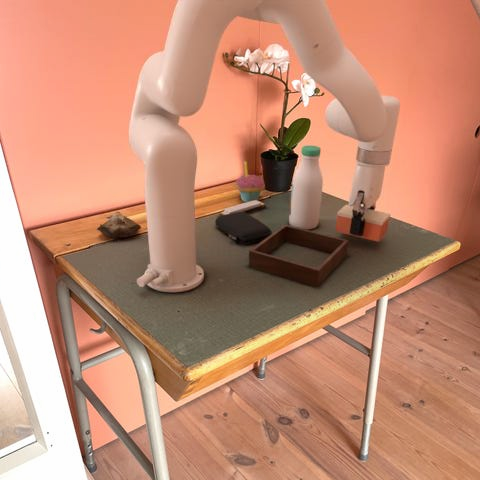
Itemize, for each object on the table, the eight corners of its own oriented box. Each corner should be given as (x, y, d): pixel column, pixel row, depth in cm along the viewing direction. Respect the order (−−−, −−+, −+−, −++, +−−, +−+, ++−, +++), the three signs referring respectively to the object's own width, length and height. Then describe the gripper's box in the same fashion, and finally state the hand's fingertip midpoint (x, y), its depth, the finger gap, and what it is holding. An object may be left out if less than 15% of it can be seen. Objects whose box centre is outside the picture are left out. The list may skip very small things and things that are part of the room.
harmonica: (226, 220, 132) (226, 213, 131) (219, 217, 134) (219, 210, 133) (266, 208, 140) (266, 201, 139) (258, 205, 142) (259, 198, 141)
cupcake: (245, 206, 141) (246, 164, 134) (229, 197, 147) (230, 156, 140) (269, 201, 145) (272, 160, 138) (253, 192, 151) (255, 152, 144)
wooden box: (317, 287, 104) (319, 270, 102) (248, 266, 111) (249, 250, 109) (346, 255, 117) (349, 240, 115) (283, 239, 124) (284, 224, 121)
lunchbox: (378, 242, 118) (382, 222, 115) (334, 231, 122) (337, 212, 120) (386, 233, 122) (390, 213, 119) (343, 222, 127) (346, 204, 124)
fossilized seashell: (92, 233, 118) (133, 242, 118) (97, 205, 118) (139, 214, 118) (100, 236, 125) (139, 245, 126) (105, 210, 125) (144, 219, 125)
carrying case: (208, 226, 129) (238, 248, 119) (208, 215, 127) (238, 236, 117) (243, 219, 134) (274, 239, 123) (243, 208, 132) (275, 228, 122)
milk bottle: (323, 226, 131) (333, 149, 120) (301, 232, 127) (309, 153, 116) (304, 216, 136) (312, 141, 125) (282, 222, 132) (288, 145, 121)
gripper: (369, 144, 120) (358, 215, 130) (344, 162, 107) (333, 238, 117) (400, 149, 116) (386, 221, 127) (377, 168, 104) (364, 246, 114)
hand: (361, 229), depth 122 cm, fingers closed on lunchbox, 6 cm apart
